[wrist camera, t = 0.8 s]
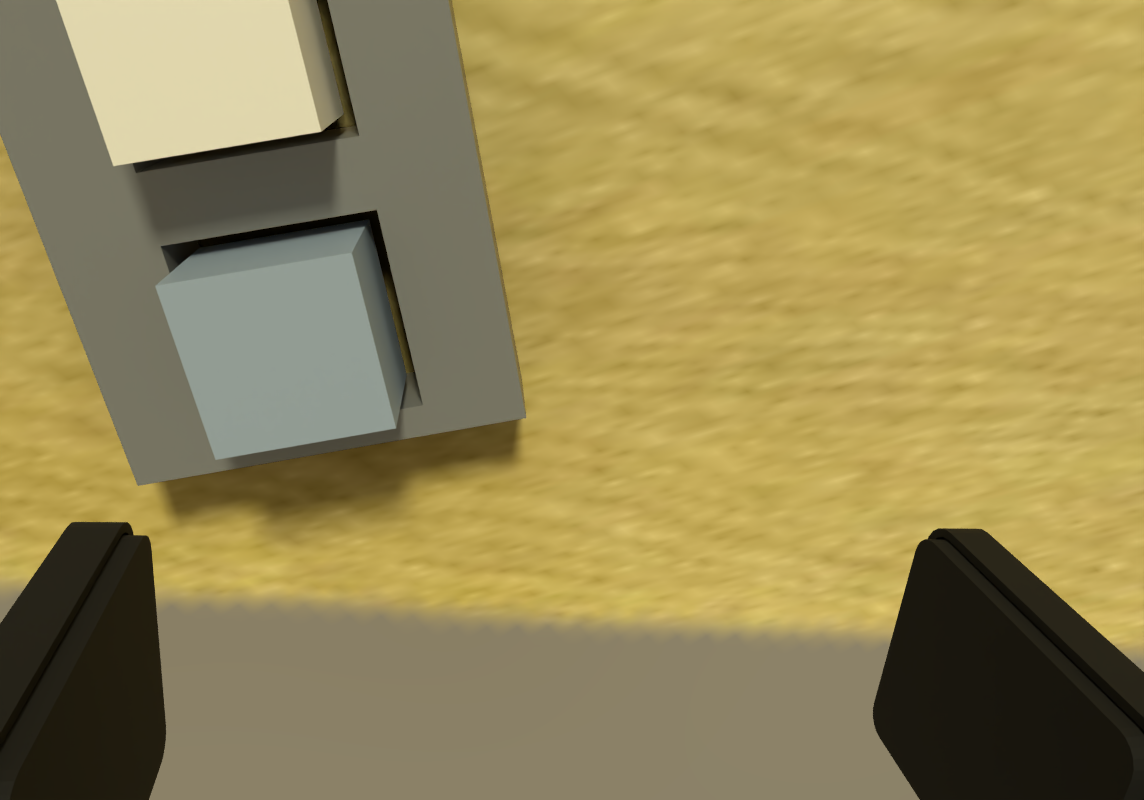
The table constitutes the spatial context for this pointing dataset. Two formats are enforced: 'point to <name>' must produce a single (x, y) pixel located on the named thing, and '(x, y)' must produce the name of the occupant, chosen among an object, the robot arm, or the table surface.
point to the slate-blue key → (287, 338)
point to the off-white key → (201, 72)
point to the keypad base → (269, 225)
